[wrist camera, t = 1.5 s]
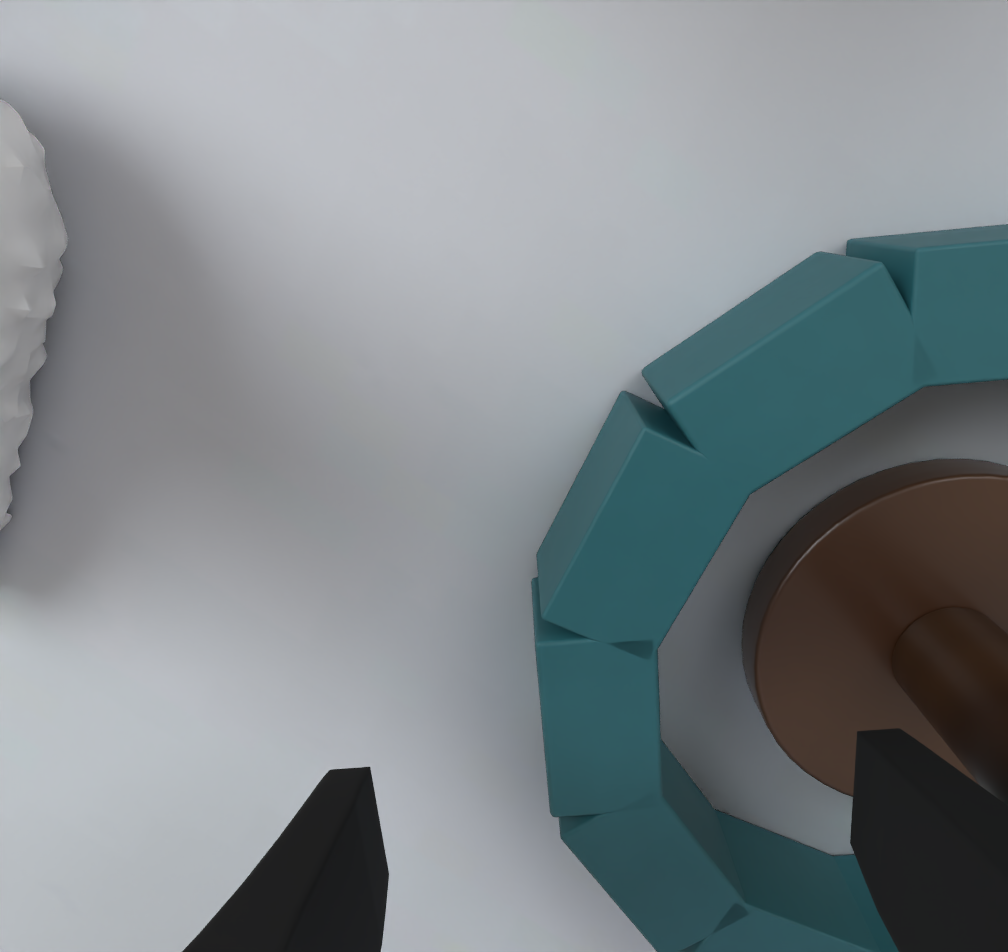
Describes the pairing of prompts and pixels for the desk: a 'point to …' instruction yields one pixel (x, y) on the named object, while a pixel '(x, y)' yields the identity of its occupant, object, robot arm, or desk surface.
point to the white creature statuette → (23, 282)
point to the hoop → (690, 547)
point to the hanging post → (889, 622)
